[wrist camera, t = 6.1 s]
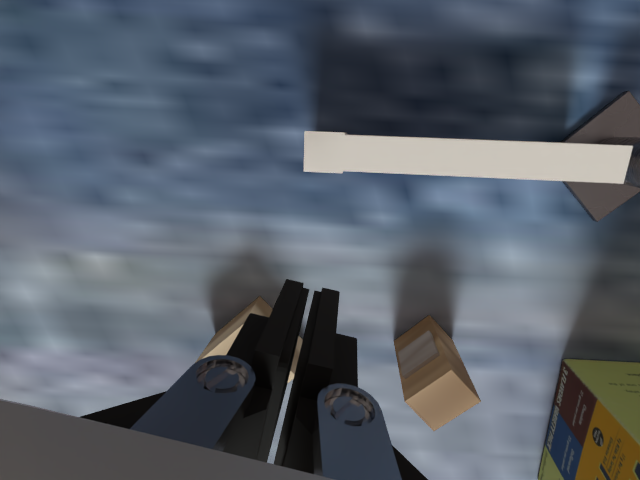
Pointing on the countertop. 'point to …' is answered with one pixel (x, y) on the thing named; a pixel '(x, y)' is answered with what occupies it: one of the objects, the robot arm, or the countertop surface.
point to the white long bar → (465, 157)
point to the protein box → (594, 423)
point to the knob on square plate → (610, 129)
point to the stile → (433, 374)
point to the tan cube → (230, 331)
